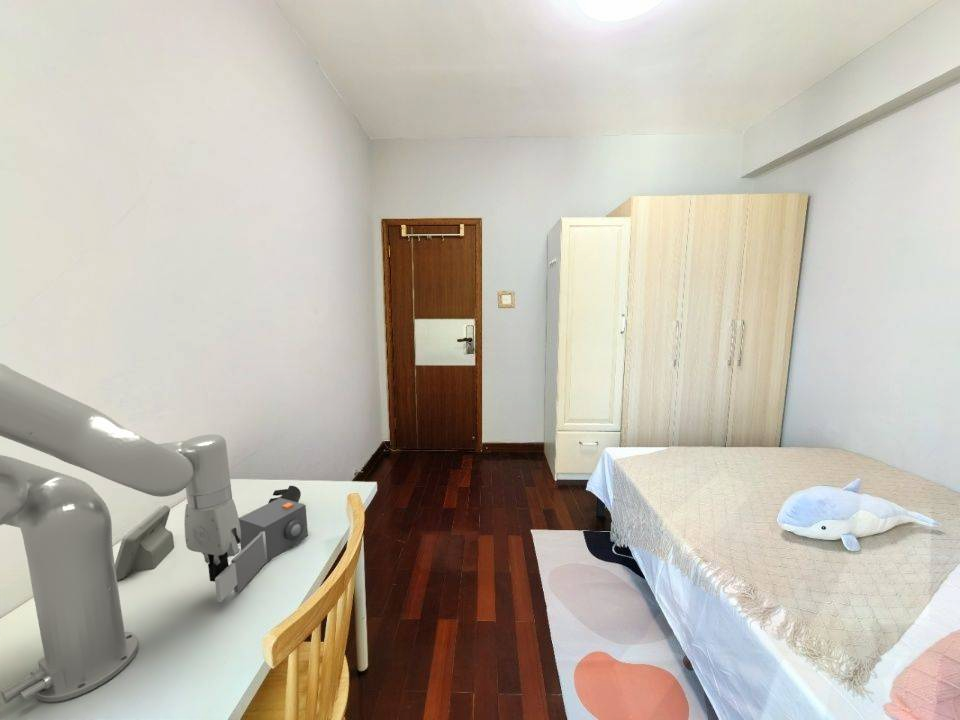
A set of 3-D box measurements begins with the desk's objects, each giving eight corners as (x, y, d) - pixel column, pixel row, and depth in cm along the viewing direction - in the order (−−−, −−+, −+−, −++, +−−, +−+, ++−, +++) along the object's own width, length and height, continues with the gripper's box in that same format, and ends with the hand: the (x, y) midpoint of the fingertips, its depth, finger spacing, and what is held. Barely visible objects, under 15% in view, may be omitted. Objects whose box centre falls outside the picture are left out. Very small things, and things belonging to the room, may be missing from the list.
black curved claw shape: (296, 520, 114) (294, 498, 114) (269, 524, 113) (267, 502, 112) (301, 504, 124) (300, 484, 123) (277, 507, 122) (275, 487, 121)
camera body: (271, 563, 95) (268, 525, 94) (241, 551, 100) (237, 515, 98) (311, 537, 106) (309, 502, 104) (282, 527, 110) (279, 494, 109)
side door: (268, 560, 95) (266, 531, 94) (223, 610, 79) (219, 576, 78) (263, 560, 95) (261, 531, 94) (217, 610, 79) (213, 576, 78)
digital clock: (155, 541, 105) (150, 504, 104) (189, 541, 105) (185, 503, 104) (97, 583, 89) (90, 539, 87) (137, 582, 89) (131, 539, 87)
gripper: (163, 500, 79) (175, 583, 81) (222, 508, 75) (233, 596, 77) (198, 484, 86) (208, 561, 89) (254, 491, 82) (262, 571, 85)
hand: (219, 577), depth 83 cm, fingers closed
